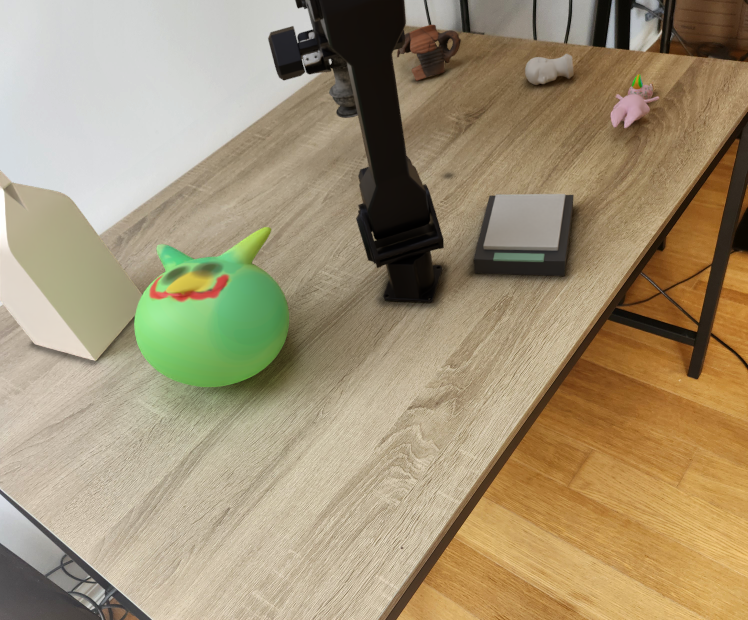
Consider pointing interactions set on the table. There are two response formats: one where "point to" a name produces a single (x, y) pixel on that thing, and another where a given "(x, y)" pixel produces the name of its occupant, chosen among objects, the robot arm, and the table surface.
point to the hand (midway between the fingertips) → (341, 65)
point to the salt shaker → (342, 89)
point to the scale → (525, 235)
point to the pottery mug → (430, 49)
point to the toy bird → (212, 316)
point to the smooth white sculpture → (548, 69)
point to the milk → (60, 273)
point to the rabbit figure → (633, 103)
